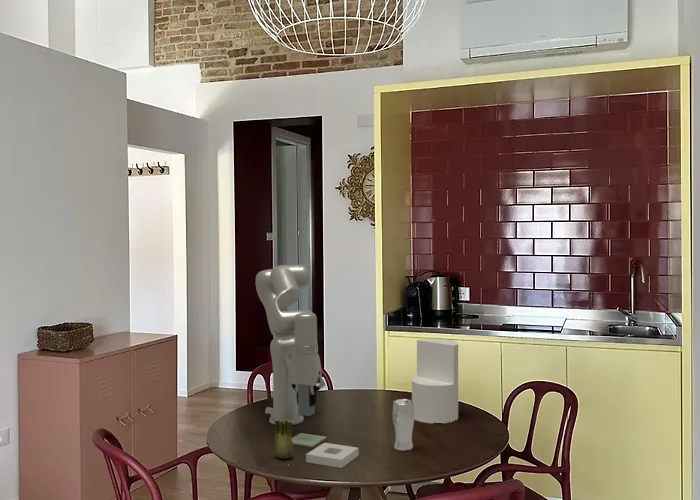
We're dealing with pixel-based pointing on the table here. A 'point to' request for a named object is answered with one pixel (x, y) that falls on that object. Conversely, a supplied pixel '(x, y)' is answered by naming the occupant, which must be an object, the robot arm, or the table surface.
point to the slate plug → (304, 401)
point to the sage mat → (307, 439)
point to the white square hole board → (332, 455)
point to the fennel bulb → (283, 439)
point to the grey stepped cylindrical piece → (436, 381)
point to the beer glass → (403, 423)
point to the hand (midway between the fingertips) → (306, 404)
